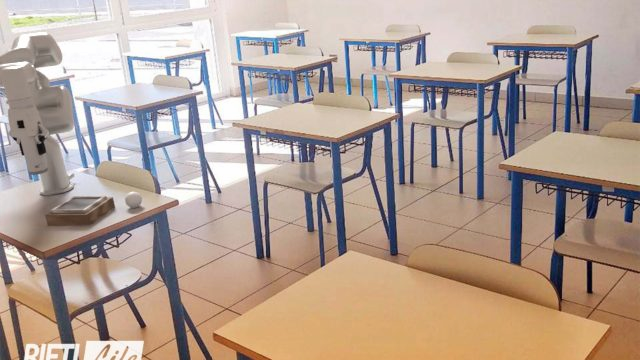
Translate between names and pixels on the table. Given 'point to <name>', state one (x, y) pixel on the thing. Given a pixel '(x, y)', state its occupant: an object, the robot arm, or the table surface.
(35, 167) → the travel mug
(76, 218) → the display stand
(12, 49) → the robot arm
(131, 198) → the white egg
